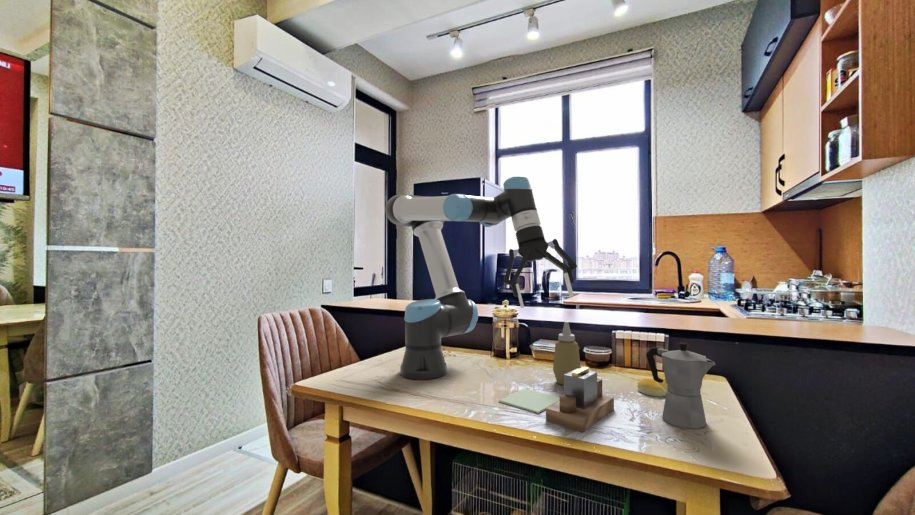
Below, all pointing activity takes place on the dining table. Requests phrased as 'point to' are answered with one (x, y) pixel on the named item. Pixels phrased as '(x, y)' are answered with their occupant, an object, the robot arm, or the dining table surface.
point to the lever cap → (581, 386)
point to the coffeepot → (682, 385)
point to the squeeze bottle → (565, 354)
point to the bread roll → (652, 387)
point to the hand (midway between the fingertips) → (547, 302)
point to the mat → (530, 400)
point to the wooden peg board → (579, 411)
